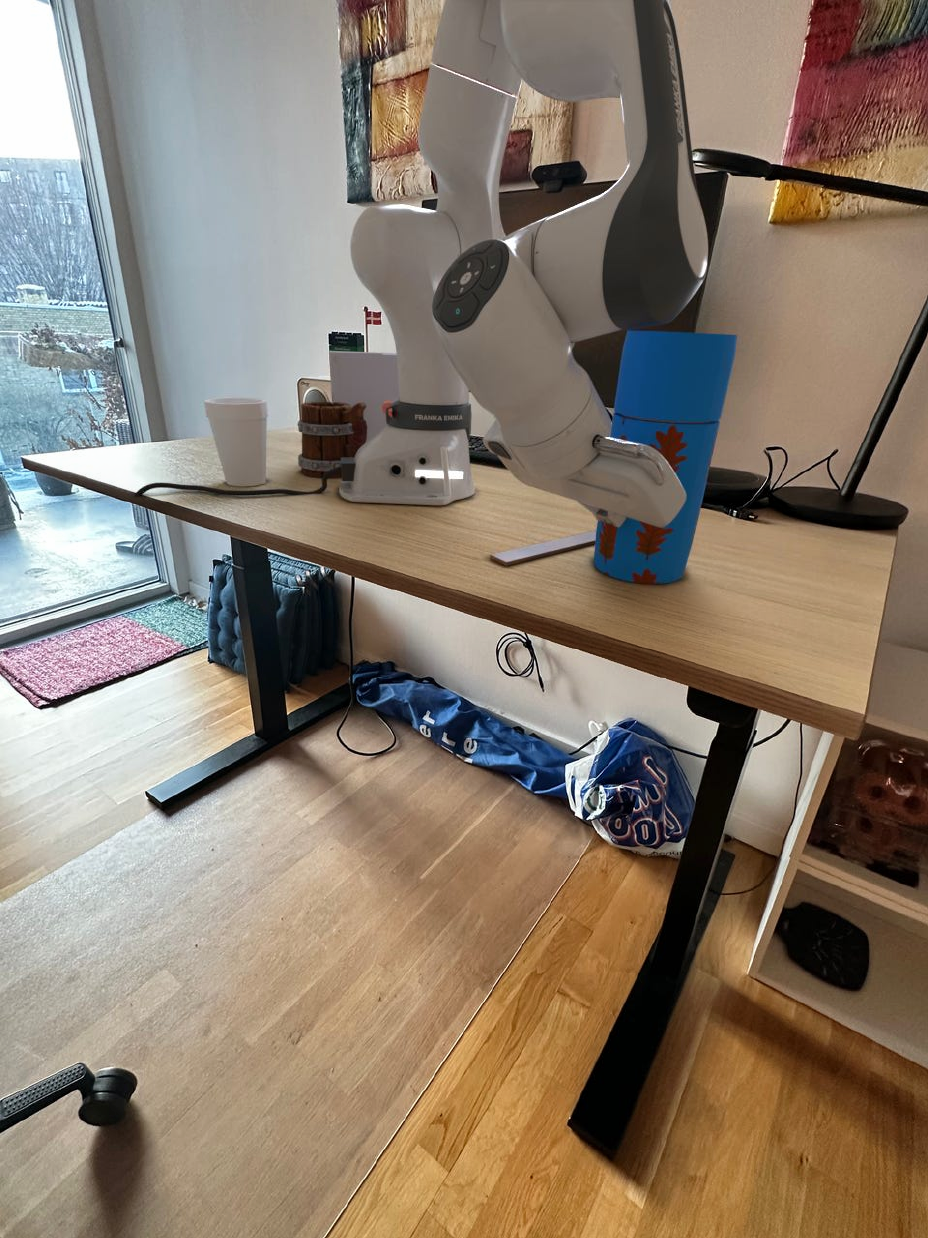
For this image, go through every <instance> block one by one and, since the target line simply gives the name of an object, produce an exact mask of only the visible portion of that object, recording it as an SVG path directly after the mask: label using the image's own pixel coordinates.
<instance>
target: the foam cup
mask: <svg viewBox="0 0 928 1238" xmlns="http://www.w3.org/2000/svg"><path fill="white" fill-rule="evenodd" d="M203 403H204V410H205V416H206V418H207V419H208V422H209V427H210V429H211V434H212V437H213V440H214V444H215V447H216V451H217V454H218V457H219V461H220V465H221V468H222V471H223V475H224V478H225V479H224V480H225V481H226V484H227V485H229V486H233V487H255V486H260V485H263V484H265V483H266V479H267V435H268V433H267V431H268V430H267V429H268V427H267V425H268V423H267V422H268V417H269V413H268V404H267V399H262V398H256V397H255V398H254V397H214V398H208V399H204V401H203Z"/></svg>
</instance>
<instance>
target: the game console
mask: <svg viewBox="0 0 928 1238" xmlns="http://www.w3.org/2000/svg"><path fill="white" fill-rule="evenodd" d="M328 363H329V377H330V380H329V381H330V395H331V397H330V398H331V403H332V404H333V402H341V403H347V404H350V405H351V407H353V406H354V405H356V404H357V403H365V404H366V406H367V407H366V408H365V410H364V411H363V414H364V420H366V423H367V428H368V429H367V439H366V442H367V441H369V440H370V439H371V438H372V437H374V436H375V435H376V434H377V433H379V432H380V431H381V430H382V429H383V428H385V427H386V426H387V425H388V424H387V423H386V414H385V413H384V412H383V410H382V407H383V406H382V404H384V402H385V401H390V402H392V403H394V402H395V401H397V400H399V390H398V366H397V352H375V351H373V352H371V351H370V352H369V351H343V350H342V351H340V350H339V351H337V350H328Z"/></svg>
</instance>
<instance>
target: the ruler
mask: <svg viewBox="0 0 928 1238" xmlns="http://www.w3.org/2000/svg"><path fill="white" fill-rule="evenodd" d="M595 540H596V529H595V530H590V531H586V532H583V533H578V534H574V535H569V536H564V537H561V538H556V539H552V540H548V541H543V542H539V543H534V544H530V545H526V546H522V547H521V546H520V547H518V548H512V549H509V550H505V551H500V552H496V553H492V554H490V555H489V559H491V560H492V561H495V562H497V563H498V564H501V565H503V566H505V567H507V566H511V565H516V564H520V563H524V562H529V561H532V560H536V559H539V558H543V557H548V556H551V555H555V554H560V553H563V552H568V551H573V550H575V549H580V548H584V547H588V546H591V545H592V546H593V545H595Z"/></svg>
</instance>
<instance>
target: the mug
mask: <svg viewBox="0 0 928 1238" xmlns="http://www.w3.org/2000/svg"><path fill="white" fill-rule="evenodd" d="M366 407H367V406H366V404H365V403H357V404H356V405H354V406H353V407H351V405H350V404H347V403H341V402H333V404H332V401H311V402H310V401H309V402H308V401H307V402H303V403H301V404H300V409H301V410H300V411H301V419H299V420H298V421H297V428H298V432H299V433H301V453H299V454H298V457H297V463H298V467H300V468H301V469H300V470H301V473H302V474H304V475H306V476H309V477H314V478H322V477H323V476H324V474H325V473H326V472H328V471H330V470H332V469H335V468H337V467H340V466H341V457H355V455H356V453H357V451H358V449H359V448H360V447H361V446H362V445H364V444H365V443H366V439H367V429H368V428H367V423H366V420H364V414H363V411H364V410H365V408H366ZM335 478H342V474H341V471H340V472H338V473H335V474H333V475H331V476H329V477H328V478H327V479H335Z"/></svg>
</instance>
